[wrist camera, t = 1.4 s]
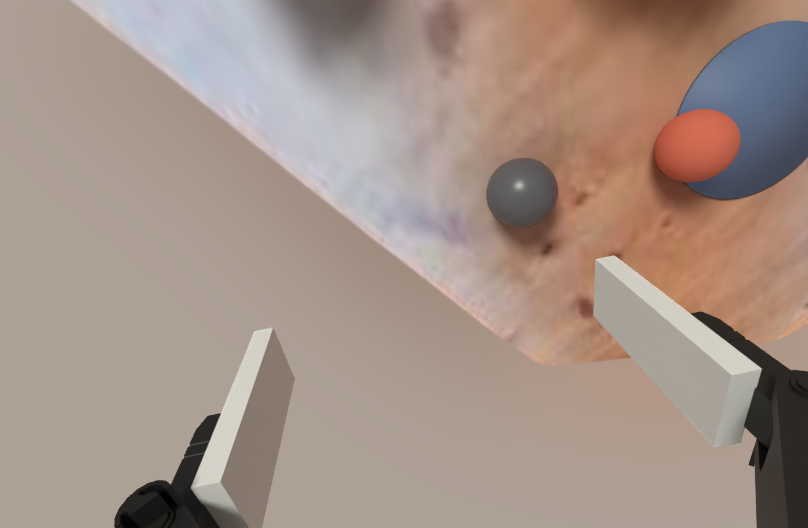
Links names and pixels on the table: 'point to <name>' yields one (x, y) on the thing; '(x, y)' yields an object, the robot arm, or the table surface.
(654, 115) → the table surface
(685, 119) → the red ball
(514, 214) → the dark grey sphere
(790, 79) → the blue plate
